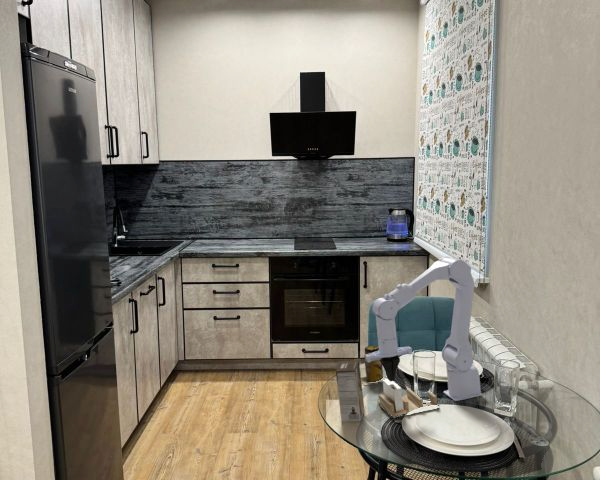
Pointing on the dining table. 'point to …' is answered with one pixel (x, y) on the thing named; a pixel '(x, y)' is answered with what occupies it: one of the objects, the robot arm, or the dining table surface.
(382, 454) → the dining table surface
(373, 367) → the condiment
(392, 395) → the panel
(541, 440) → the dining table surface
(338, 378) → the coffee box
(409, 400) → the rack
